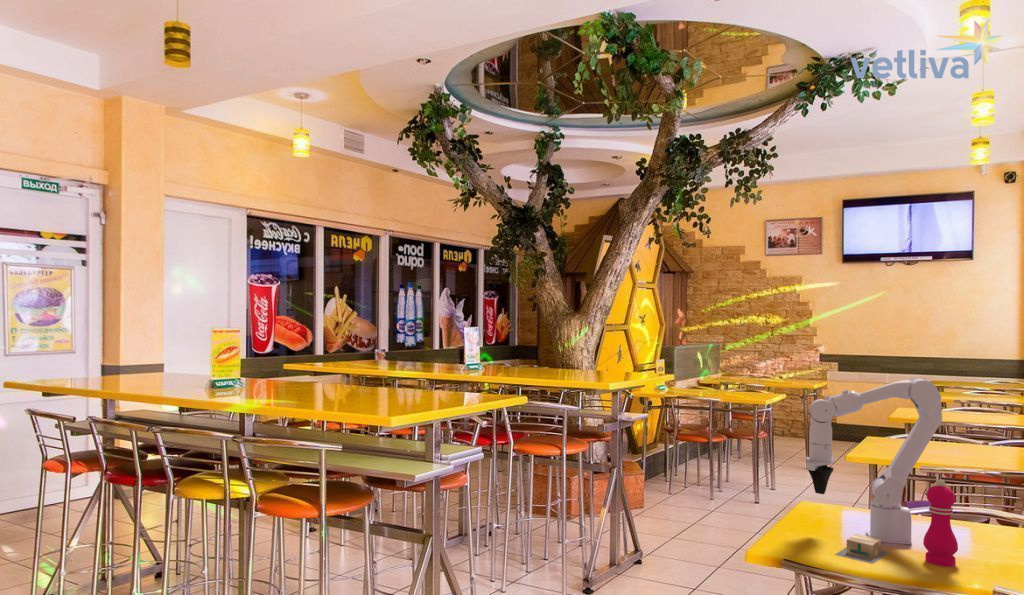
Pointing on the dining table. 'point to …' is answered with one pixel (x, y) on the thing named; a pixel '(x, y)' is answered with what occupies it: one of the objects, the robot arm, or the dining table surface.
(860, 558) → the grey panel
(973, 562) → the dining table surface
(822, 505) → the dining table surface
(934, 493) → the pepper mill
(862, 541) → the birch block
